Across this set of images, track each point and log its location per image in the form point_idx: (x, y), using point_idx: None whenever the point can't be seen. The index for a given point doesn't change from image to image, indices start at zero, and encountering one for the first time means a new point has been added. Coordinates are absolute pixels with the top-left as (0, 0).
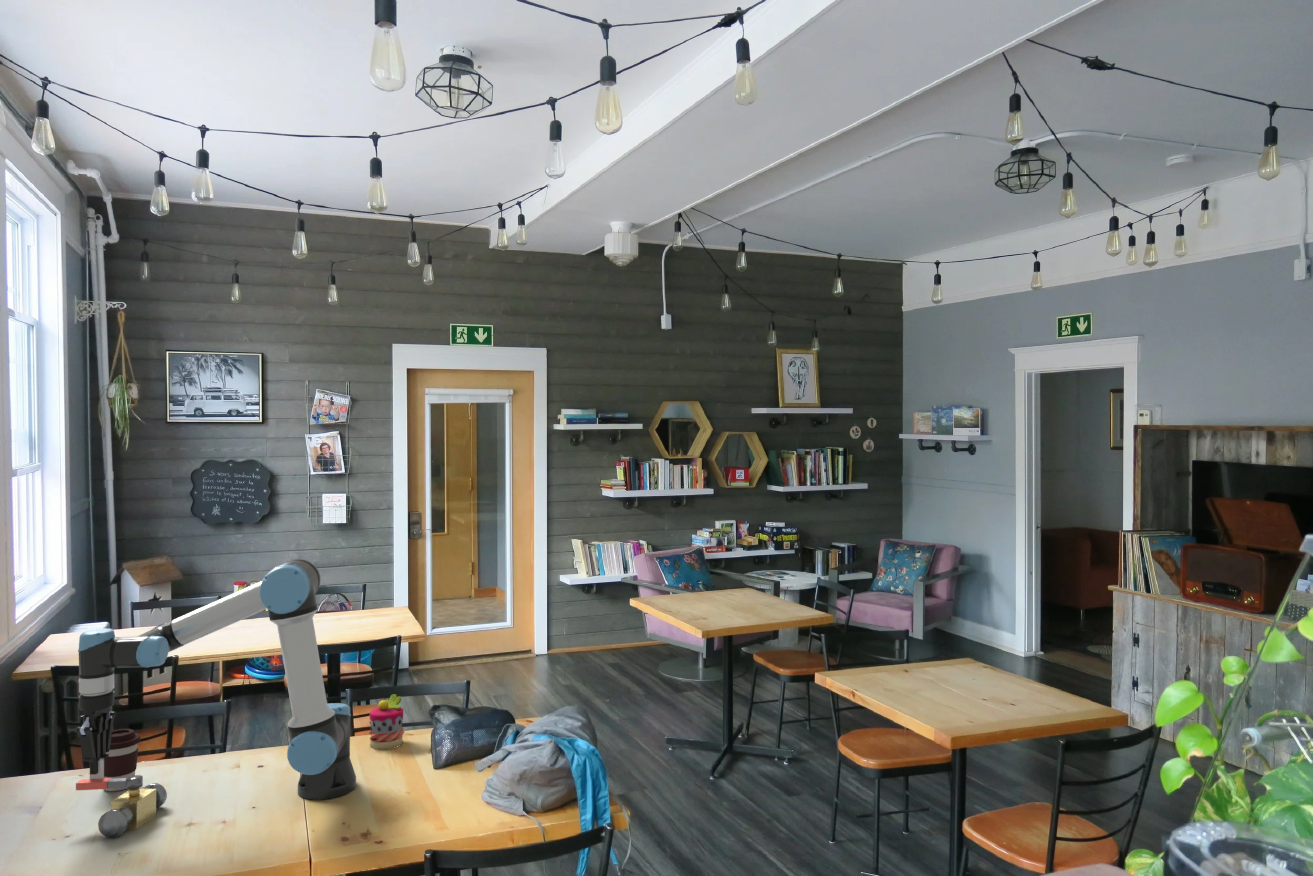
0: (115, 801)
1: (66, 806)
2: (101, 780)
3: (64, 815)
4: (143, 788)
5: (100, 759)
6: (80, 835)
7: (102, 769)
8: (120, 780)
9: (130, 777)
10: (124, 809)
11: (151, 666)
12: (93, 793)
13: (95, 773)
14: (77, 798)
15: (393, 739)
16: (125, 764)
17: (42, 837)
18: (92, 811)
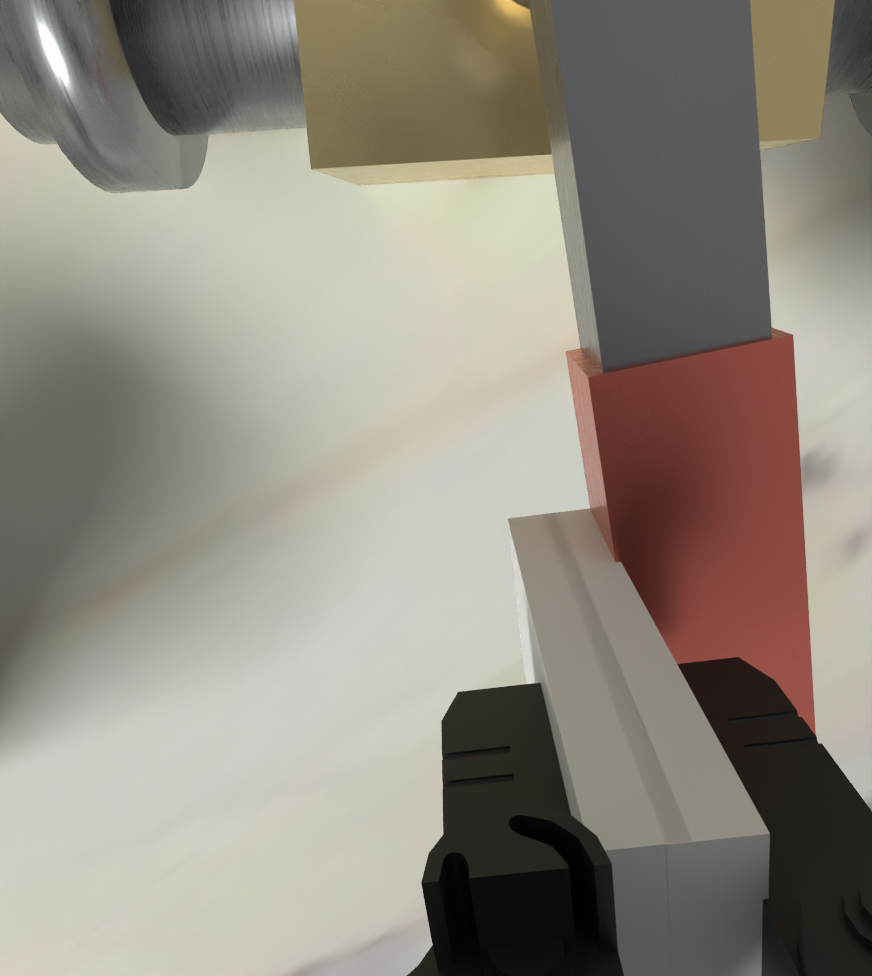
0: (823, 63)
1: (262, 841)
2: (716, 491)
3: (416, 754)
4: (125, 116)
5: (689, 890)
6: (804, 373)
7: (594, 656)
8: (709, 85)
9: None
10: None
11: None
12: (6, 816)
13: (763, 673)
14: (117, 860)
15: None
16: None
17: (816, 648)
18: (318, 605)
